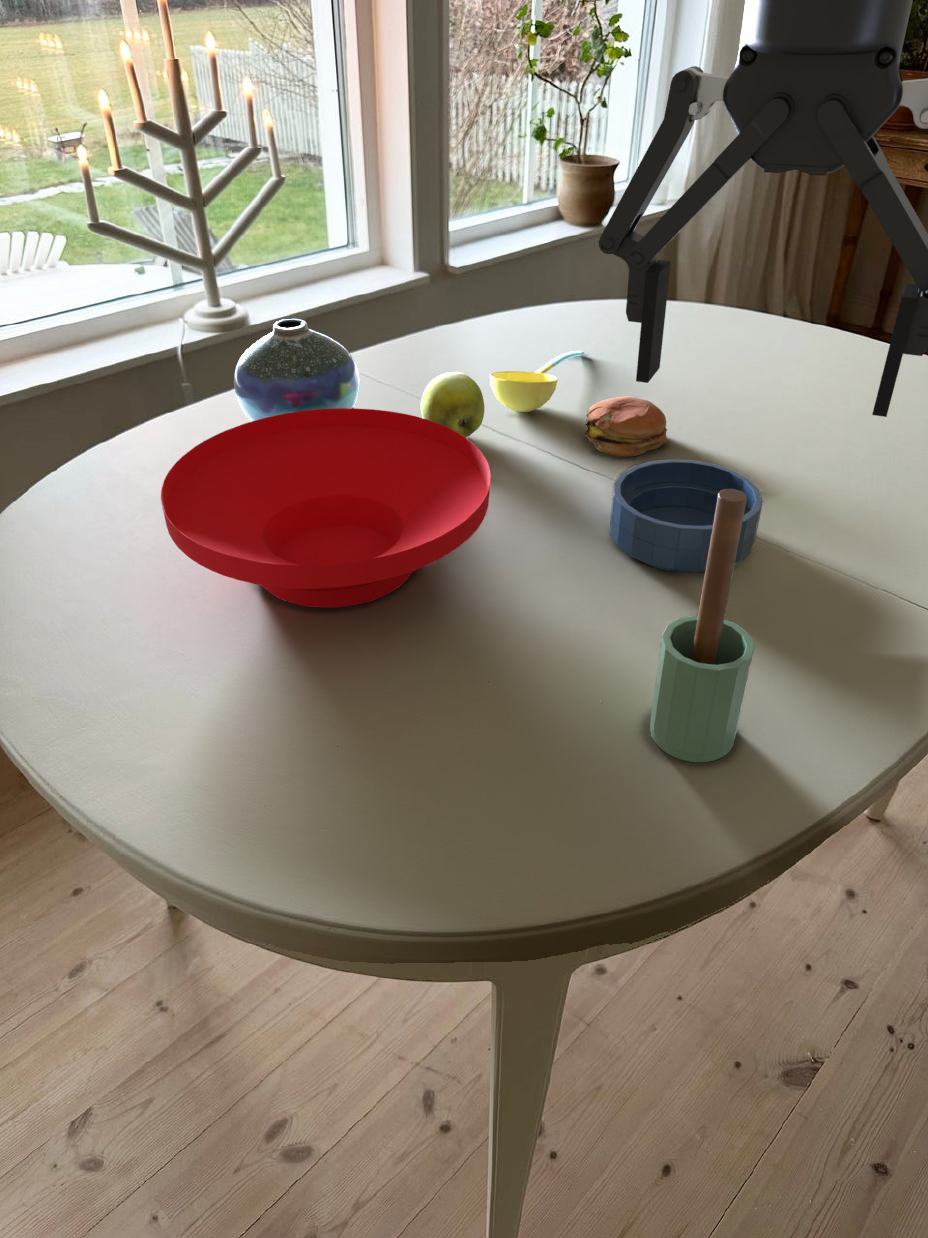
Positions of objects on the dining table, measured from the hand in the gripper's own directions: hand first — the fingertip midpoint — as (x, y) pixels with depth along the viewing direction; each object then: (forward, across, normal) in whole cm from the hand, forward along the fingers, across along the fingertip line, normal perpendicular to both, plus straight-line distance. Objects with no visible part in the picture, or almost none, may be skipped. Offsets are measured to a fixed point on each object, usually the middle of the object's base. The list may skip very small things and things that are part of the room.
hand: (759, 390), depth 55 cm
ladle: (+28, -36, +61) cm, 76 cm away
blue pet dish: (+28, -9, +28) cm, 40 cm away
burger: (+28, -20, +48) cm, 59 cm away
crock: (+28, -1, 0) cm, 28 cm away
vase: (+28, -60, +36) cm, 75 cm away
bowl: (+28, -39, +10) cm, 49 cm away
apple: (+28, -40, +41) cm, 64 cm away
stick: (+27, -1, 0) cm, 27 cm away
